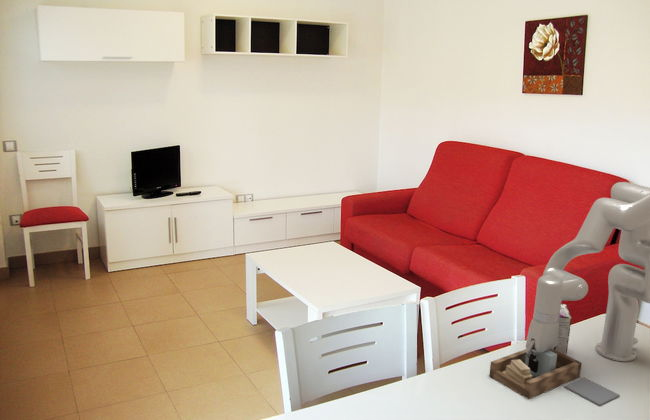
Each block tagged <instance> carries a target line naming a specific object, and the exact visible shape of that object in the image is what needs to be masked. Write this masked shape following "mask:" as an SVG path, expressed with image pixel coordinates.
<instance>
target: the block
mask: <svg viewBox="0 0 650 420" xmlns="http://www.w3.org/2000/svg"><path fill="white" fill-rule="evenodd" d="M534 349H535V348H534ZM535 350H536V349H535ZM533 355H534V356H535V355H536V353H535V352H533ZM556 360H557V354H556V353H554V352H552V351H550V350H547V351H544V352H541V353H540V355H539V357H538V360H537V361H539V363H538V371H537V373H535V372H533V371H531V370H530V375H532V376H534V377H535V378H536V377H538V376H541V375H543V374H546V373H548V372H551V371H553V370H555V369H556V368H555V367H556ZM528 363H529V358H528V356H527V354H526V359H525V365H527V366H528Z"/></svg>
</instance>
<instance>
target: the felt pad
mask: <svg viewBox="0 0 650 420" xmlns="http://www.w3.org/2000/svg"><path fill="white" fill-rule="evenodd" d="M563 388H564V389H566V390H568V391H570V392H572V393H574V394H576V395H577V396H579V397H581V398H583V399H584V400H587V401H588V402H590V403H592V404H594V405H597V406H598V407H601V406H603V405H605V404H607V403H610V402H612V401H614V400H617V399H618V398H620V394H618V393H617V392H615V391H612V390H611V389H609V388H607V387H605V386H603V385H601V384H599V383H598V382H597V383H596V382H594V381H593V380H590V379H589V378H587V377H584V376H583V377H582V378H578V379H577V380H575V381H574V380H573V381H572V382H569V383H566V384H565V385H564V387H563Z"/></svg>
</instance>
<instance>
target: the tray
mask: <svg viewBox="0 0 650 420" xmlns="http://www.w3.org/2000/svg"><path fill="white" fill-rule="evenodd" d="M525 350H526V348H525V349H523V350H520V351H517V352H514V353H512V354H509V355H506V356H503V357H500V358H497V359H495V360H491V361H490V365H489V374H488V375H489V377H490V378H491V379H493V380H494V381H496V382H498V383H500V384H502V385H504V386H506V387H507V388H509V389H511V390H513V392H516V393H517V394H520V395H521V396H522V397H524V398H526V399H527V400H529V399H532V398H534V397H538V396H540V395H541V394H543V393H546V392H548V391H550V390H553V389H555V388H557V387H559V386H563V385H564V384H565V385H566V384H568V383H570V382H571V381H572V382H573V381H574V380H576V379H580V376H581V370H582V364H583V363H582V362H581V361H579V360H576V359H575V358H573V357H571V356H569V355H568V354H567V355H565V354H562V353H560V352H558V351H556V350H555V351H554V353H556V354H557V360H556V367H555V370H553V371H551V372H548V373H546V374H543V375H541V376H538V377H536V376H535V377H534V378H533V377H532V379H531V380H528V381H526V386H525V385H523V384H522V383H520V382H518V381H516V380H515V379H513V378H511V377H509V376H507V375H506V374H504V373H502V372H503V371H505V370H506V366H507V365H511V360H519V359H520V360H521V361H522V362H523V363H524V364H525V359H526V353H525Z"/></svg>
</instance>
